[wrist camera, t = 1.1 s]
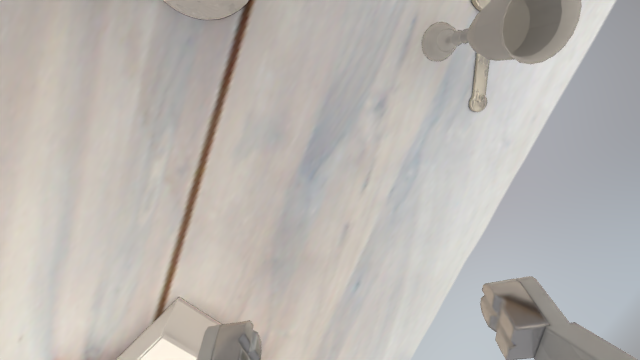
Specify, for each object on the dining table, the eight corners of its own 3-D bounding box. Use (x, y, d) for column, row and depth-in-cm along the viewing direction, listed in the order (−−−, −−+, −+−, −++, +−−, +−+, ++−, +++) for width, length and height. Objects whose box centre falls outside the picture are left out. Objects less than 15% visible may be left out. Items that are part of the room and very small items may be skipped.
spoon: (492, 110, 47) (496, 110, 46) (459, 112, 46) (462, 113, 46) (512, -52, 40) (517, -55, 39) (473, -51, 40) (478, -54, 39)
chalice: (438, 79, 44) (533, 80, 27) (404, 48, 42) (485, 29, 26) (473, 36, 43) (596, 9, 26) (440, 1, 41) (550, -51, 24)
